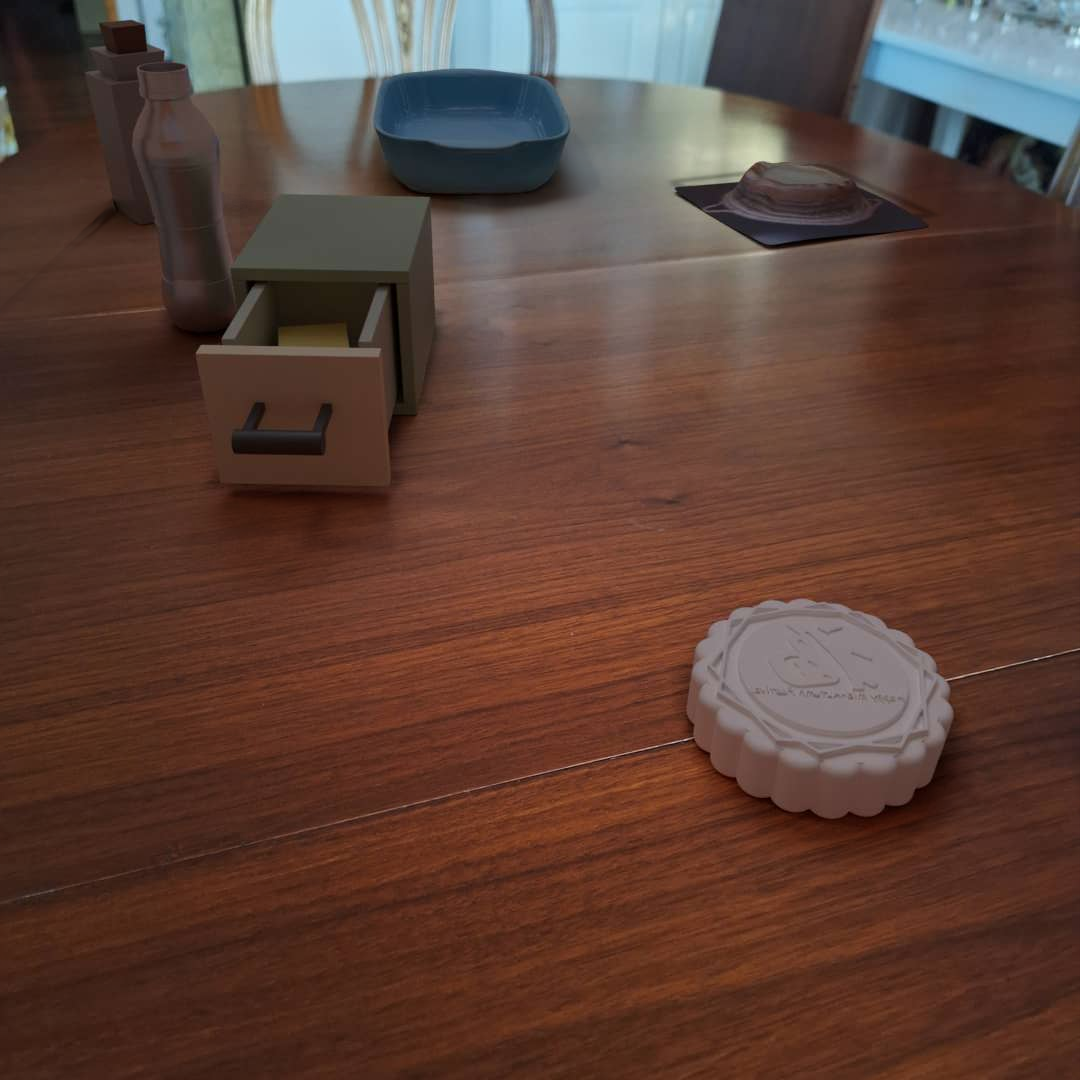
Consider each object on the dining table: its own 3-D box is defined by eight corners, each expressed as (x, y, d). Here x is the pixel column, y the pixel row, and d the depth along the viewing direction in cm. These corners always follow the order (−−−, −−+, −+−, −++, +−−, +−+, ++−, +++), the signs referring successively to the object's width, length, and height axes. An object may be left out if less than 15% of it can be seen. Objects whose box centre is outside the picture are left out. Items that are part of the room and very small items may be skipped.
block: (352, 369, 65) (345, 322, 71) (278, 375, 65) (277, 326, 71) (358, 433, 68) (351, 382, 74) (287, 439, 67) (286, 387, 73)
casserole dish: (579, 207, 113) (582, 139, 109) (374, 209, 112) (368, 140, 107) (546, 122, 143) (547, 66, 139) (384, 123, 141) (380, 66, 137)
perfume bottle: (175, 196, 114) (141, 15, 103) (202, 212, 110) (169, 25, 99) (115, 208, 110) (73, 21, 100) (140, 225, 106) (99, 32, 96)
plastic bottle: (242, 305, 90) (202, 55, 78) (254, 336, 85) (213, 74, 73) (165, 314, 88) (112, 60, 77) (172, 347, 83) (117, 79, 71)
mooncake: (907, 648, 55) (923, 595, 53) (969, 831, 45) (991, 775, 43) (680, 635, 55) (687, 582, 53) (692, 813, 46) (701, 757, 44)
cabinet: (416, 415, 75) (408, 271, 68) (252, 412, 75) (229, 267, 68) (435, 325, 87) (430, 196, 81) (295, 322, 87) (279, 193, 81)
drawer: (378, 531, 61) (366, 396, 56) (198, 528, 61) (170, 392, 56) (413, 380, 77) (406, 265, 72) (270, 378, 77) (253, 261, 72)
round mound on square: (767, 249, 104) (773, 209, 101) (670, 191, 119) (673, 155, 117) (933, 226, 111) (942, 189, 108) (821, 174, 126) (827, 140, 123)
